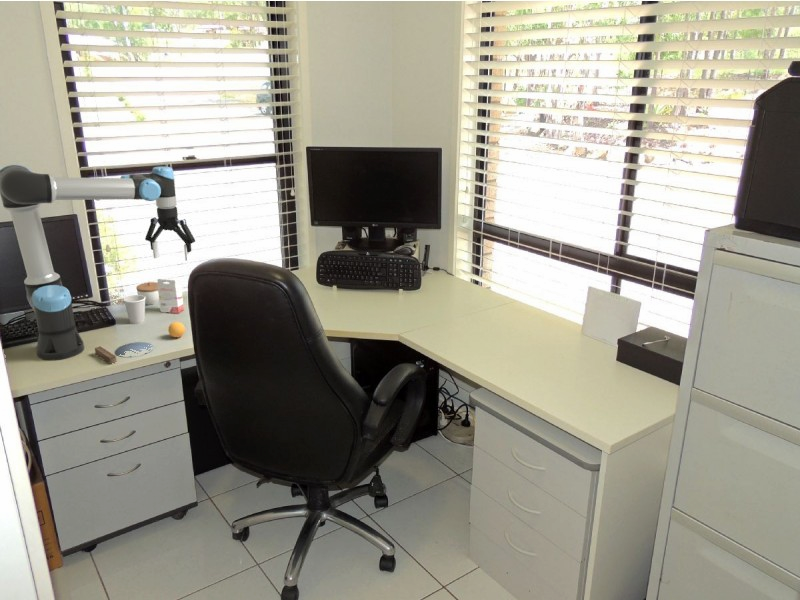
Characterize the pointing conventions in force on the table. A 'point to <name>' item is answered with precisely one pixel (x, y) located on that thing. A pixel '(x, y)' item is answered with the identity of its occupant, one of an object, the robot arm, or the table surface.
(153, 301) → the lidded jar
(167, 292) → the ink cartridge box
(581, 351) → the table surface
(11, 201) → the robot arm
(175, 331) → the ball
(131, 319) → the dixie cup
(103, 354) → the strip
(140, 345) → the slate mark
